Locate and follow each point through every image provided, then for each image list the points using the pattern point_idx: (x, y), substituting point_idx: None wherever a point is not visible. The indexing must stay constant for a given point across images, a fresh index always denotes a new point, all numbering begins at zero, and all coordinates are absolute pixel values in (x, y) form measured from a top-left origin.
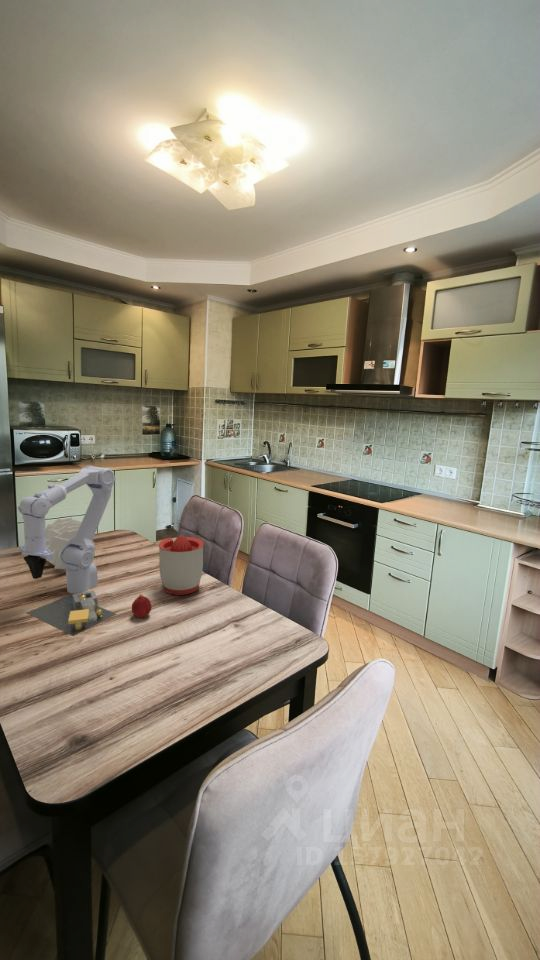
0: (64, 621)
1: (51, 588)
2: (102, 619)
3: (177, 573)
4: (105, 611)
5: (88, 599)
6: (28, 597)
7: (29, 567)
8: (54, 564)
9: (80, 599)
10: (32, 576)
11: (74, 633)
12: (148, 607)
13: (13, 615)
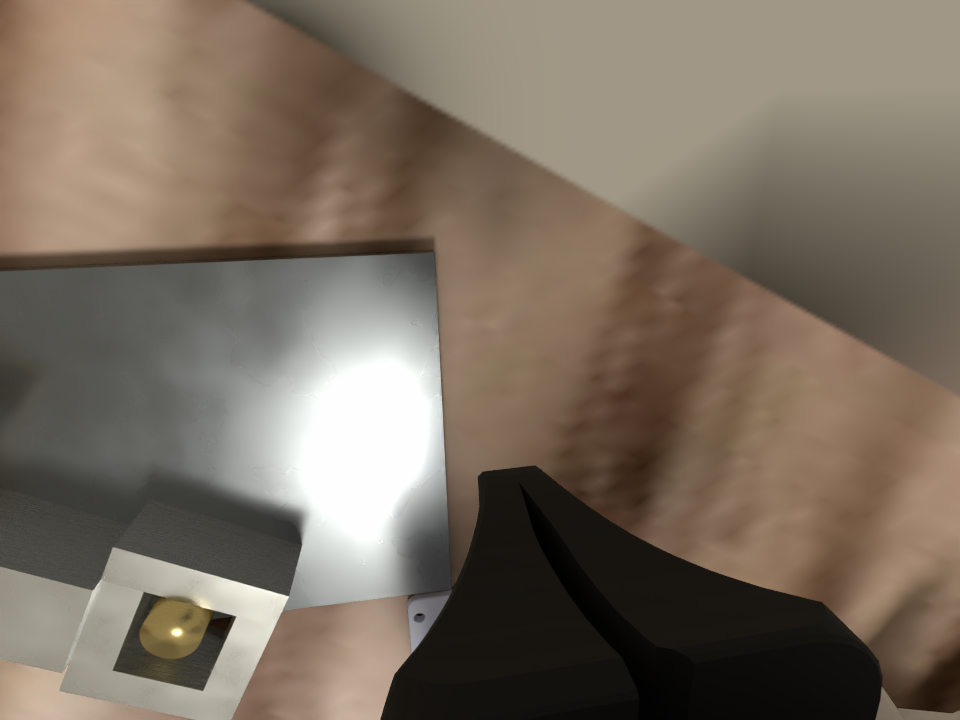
0: (35, 367)
1: (676, 554)
2: None
3: None
4: None
5: (45, 636)
6: (685, 399)
7: (618, 537)
8: (907, 714)
9: (137, 596)
10: (537, 472)
11: None
12: None
13: (508, 188)
